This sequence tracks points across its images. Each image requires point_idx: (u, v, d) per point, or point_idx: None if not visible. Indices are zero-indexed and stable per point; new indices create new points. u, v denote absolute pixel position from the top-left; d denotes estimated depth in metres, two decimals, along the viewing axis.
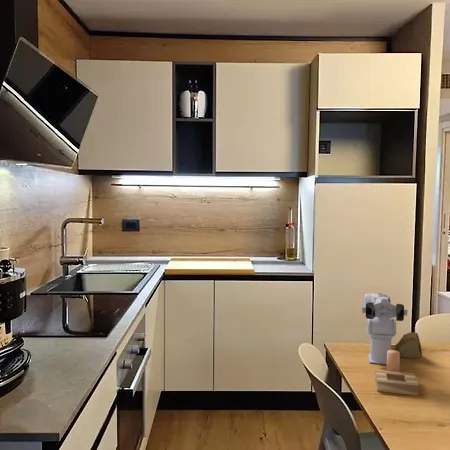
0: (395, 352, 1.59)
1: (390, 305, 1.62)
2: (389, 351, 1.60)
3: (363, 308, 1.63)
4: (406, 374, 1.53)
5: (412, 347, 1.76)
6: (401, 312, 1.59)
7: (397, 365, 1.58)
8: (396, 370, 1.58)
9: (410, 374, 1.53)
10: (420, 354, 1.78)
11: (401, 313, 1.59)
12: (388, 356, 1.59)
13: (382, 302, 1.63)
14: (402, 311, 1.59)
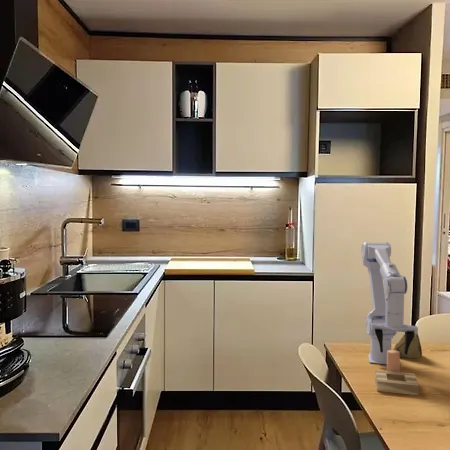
0: (395, 352, 1.59)
1: None
2: (389, 351, 1.60)
3: None
4: (406, 374, 1.53)
5: (412, 347, 1.76)
6: None
7: (397, 365, 1.58)
8: (396, 370, 1.58)
9: (410, 374, 1.53)
10: (420, 354, 1.78)
11: None
12: (388, 356, 1.59)
13: (392, 329, 1.56)
14: None
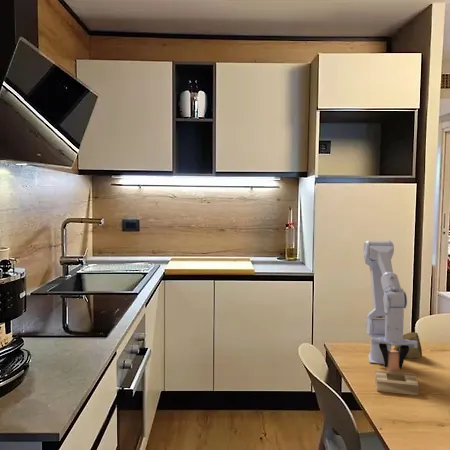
0: (395, 352, 1.59)
1: None
2: (389, 351, 1.60)
3: None
4: (406, 374, 1.53)
5: (412, 347, 1.76)
6: None
7: (397, 365, 1.58)
8: (396, 370, 1.58)
9: (410, 374, 1.53)
10: (420, 354, 1.78)
11: None
12: (388, 356, 1.59)
13: None
14: None
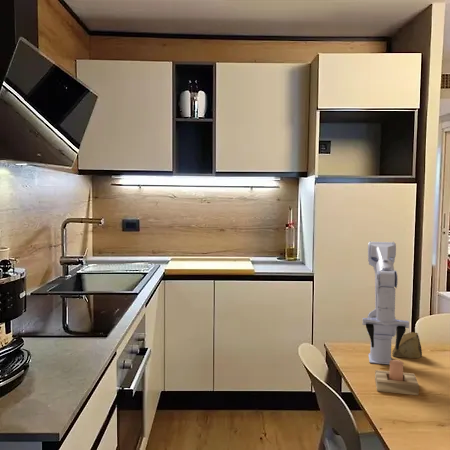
0: (398, 362, 1.49)
1: None
2: (392, 361, 1.50)
3: None
4: (406, 374, 1.53)
5: (412, 347, 1.76)
6: None
7: (400, 376, 1.48)
8: None
9: (410, 374, 1.53)
10: (420, 354, 1.78)
11: None
12: (391, 366, 1.49)
13: None
14: None
